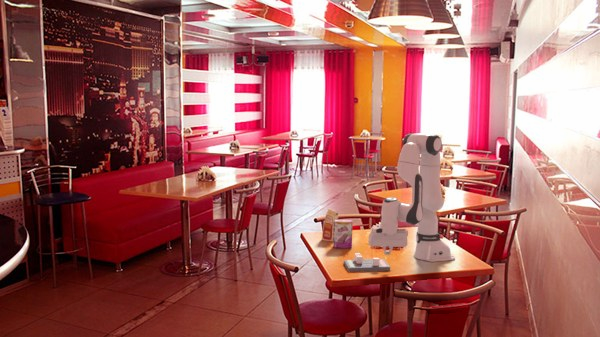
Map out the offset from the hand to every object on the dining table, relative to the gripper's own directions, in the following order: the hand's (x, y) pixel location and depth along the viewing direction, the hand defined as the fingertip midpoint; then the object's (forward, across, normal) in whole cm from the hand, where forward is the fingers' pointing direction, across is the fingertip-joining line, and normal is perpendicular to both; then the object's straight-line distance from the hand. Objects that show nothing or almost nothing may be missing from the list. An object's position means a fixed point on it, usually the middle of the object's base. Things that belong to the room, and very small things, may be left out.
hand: (387, 254), depth 278 cm
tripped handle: (+6, +6, 0) cm, 8 cm away
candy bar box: (+9, +16, -44) cm, 47 cm away
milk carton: (+9, +20, -63) cm, 66 cm away
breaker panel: (+8, +10, -5) cm, 14 cm away
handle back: (+6, +14, -9) cm, 18 cm away
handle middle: (+6, +14, -5) cm, 16 cm away
